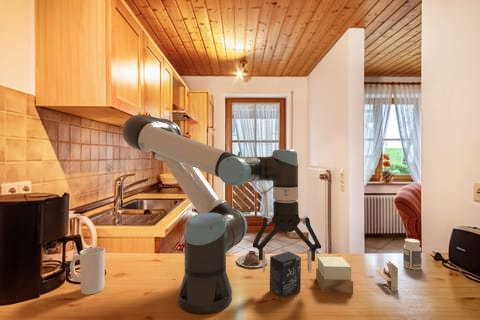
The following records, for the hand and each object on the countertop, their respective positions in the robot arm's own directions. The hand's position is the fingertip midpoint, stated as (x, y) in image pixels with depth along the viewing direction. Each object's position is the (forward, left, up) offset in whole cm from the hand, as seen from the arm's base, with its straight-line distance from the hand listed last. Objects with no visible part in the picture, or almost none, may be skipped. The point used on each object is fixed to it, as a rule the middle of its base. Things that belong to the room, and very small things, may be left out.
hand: (286, 271), depth 81 cm
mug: (-60, -5, -6) cm, 61 cm away
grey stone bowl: (-11, +21, -7) cm, 25 cm away
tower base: (+15, +5, -7) cm, 17 cm away
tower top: (+15, +5, -3) cm, 16 cm away
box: (0, 0, -6) cm, 6 cm away
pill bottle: (+48, +22, -6) cm, 53 cm away
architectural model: (+33, +6, -7) cm, 34 cm away
